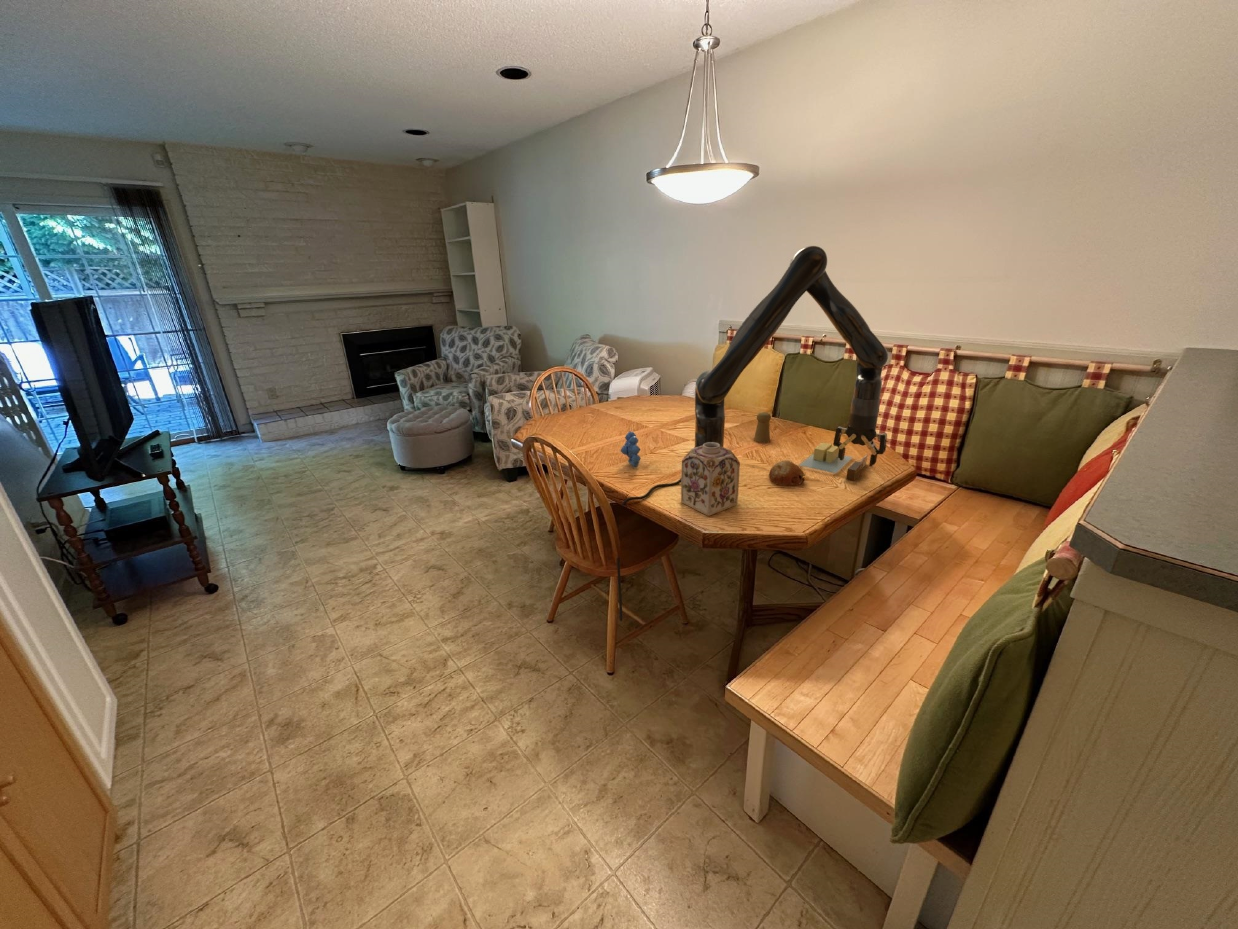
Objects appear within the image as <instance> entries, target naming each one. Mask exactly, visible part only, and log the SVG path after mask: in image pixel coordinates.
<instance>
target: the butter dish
mask: <svg viewBox="0 0 1238 929" xmlns="http://www.w3.org/2000/svg"><path fill="white" fill-rule="evenodd" d="M813 456H814V453H812V454H811V455H810V456H808V457H807V458H806V459H804V460H803V461H802V462H801V463H800V464H798V466H799V467H804V468H808V469H813V470H816V471H817V470H818V471H822V472H827V473H831V474H837V473H838V472H839V471H840V470H841V469H843V468H844V466H846V465H847V464H848V463H849V462H850V461H851V460H852V459H854V456H850V455H845V456H844V459H843V460H840V458H838V457H837V458H836V459H835V460H834V461H833V462H832V463H828V462H826V459H825V460H823V461H818V460H814V459H813Z"/></svg>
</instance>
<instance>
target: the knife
mask: <svg viewBox="0 0 1238 929" xmlns="http://www.w3.org/2000/svg"><path fill="white" fill-rule="evenodd" d="M867 461H868V454H865V455H864V456H863V457H862V459H861V460H859V461H854V462H853V463H852V464H851V465H850V466H849V467H848V468H847V469H846V476H845V480H847V481H852V482H854V481H855V480H856V479H857V478H858V477H859V476H860V475H861V474H862V470H863V468H864V467H865V466H866V465H867Z"/></svg>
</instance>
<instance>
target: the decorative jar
mask: <svg viewBox="0 0 1238 929" xmlns="http://www.w3.org/2000/svg"><path fill="white" fill-rule="evenodd" d="M694 447H695V446H694ZM694 447H693V448H691V449H690V450H689V451H688V452H687V453H686V454H685V455H684V457H683V458H682V459H681V475H680V479H681V482H680V503H681V504H684V505H685V506H688V507H690V508H692V509H693V510H696V511H697V512H699V513H702V514H704V515H706V516H708V517H710V516H712V515H715V514H718V513H720V512H722V511H723V512H724V511H725V510H727V509H730V508H732V507H735V506H737V505H738V502H739V487H740V470H741V468H740V466H741V462H740V460H739V459H738V457H737V456H736V454H735V453H733V451H732V450H731V449H729V448H726V447H720V444H718V443H715V442H708V443H704V444H703V446H699V447H695V448H694Z"/></svg>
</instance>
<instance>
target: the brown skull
mask: <svg viewBox="0 0 1238 929" xmlns="http://www.w3.org/2000/svg"><path fill="white" fill-rule="evenodd" d="M805 476H806V474H805V473H804V470H802V469H801V467H800V466H799V465H797V464H795V463H794V462H793V461H790V460H780V461H778V462H776V463H775V464H774V465H772V467H771V468H770V470H769V472H768V479H769V480H770V482H772V483H773V484H775V485H778V486H785V487H796V486H798V485H800V484H802V482H805V478H804V477H805Z"/></svg>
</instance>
